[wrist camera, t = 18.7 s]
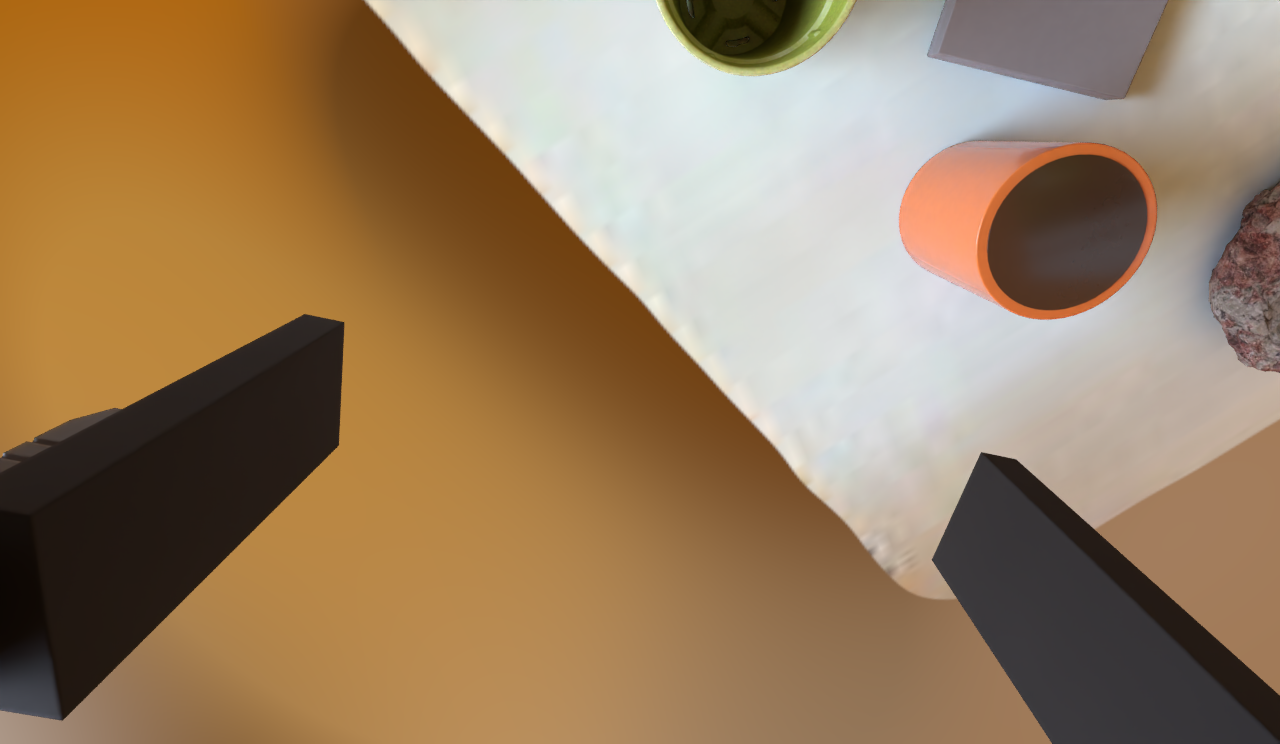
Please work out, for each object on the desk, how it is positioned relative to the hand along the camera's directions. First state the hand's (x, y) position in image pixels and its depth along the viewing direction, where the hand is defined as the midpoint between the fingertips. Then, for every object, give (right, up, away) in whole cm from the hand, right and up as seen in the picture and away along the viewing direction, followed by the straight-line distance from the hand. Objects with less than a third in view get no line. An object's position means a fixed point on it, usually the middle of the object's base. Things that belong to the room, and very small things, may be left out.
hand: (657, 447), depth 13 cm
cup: (+20, +11, +26) cm, 35 cm away
